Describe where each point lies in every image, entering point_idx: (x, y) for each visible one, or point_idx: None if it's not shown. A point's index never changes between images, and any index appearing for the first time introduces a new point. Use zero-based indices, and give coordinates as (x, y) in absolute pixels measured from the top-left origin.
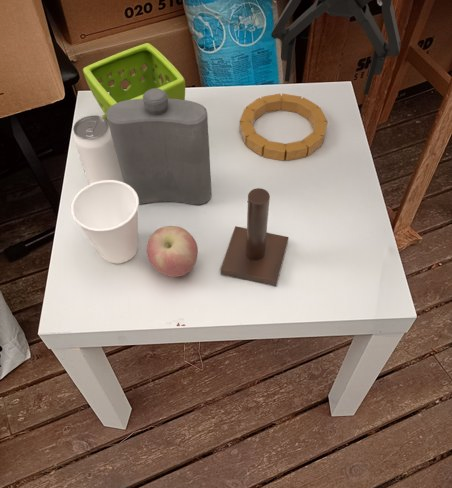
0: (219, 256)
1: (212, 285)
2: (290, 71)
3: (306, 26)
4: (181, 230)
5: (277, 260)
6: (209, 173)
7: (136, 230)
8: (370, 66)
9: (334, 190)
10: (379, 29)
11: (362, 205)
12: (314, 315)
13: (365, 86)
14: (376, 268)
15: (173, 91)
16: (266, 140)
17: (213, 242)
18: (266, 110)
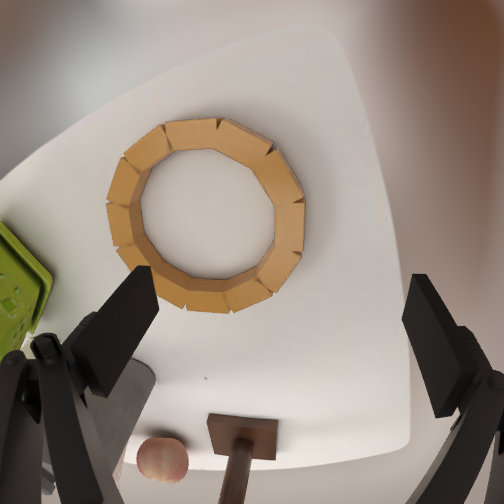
0: (205, 433)
1: (213, 452)
2: (146, 318)
3: (111, 476)
4: (161, 475)
5: (270, 447)
6: (138, 411)
7: (121, 455)
8: (432, 354)
9: (337, 344)
10: (488, 450)
11: (382, 359)
12: (318, 463)
13: (408, 332)
14: (387, 425)
15: (5, 348)
16: (183, 290)
17: (191, 422)
18: (150, 168)
